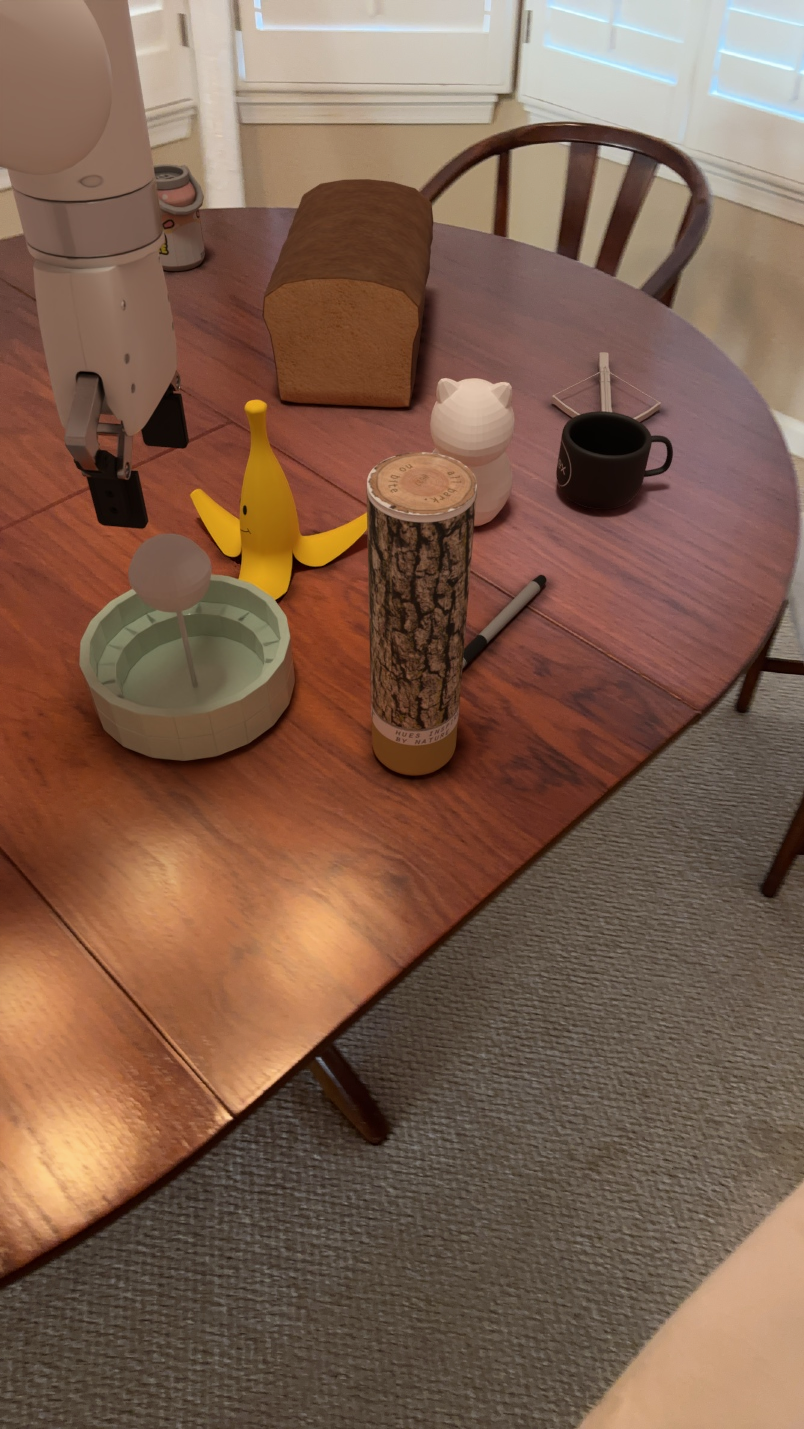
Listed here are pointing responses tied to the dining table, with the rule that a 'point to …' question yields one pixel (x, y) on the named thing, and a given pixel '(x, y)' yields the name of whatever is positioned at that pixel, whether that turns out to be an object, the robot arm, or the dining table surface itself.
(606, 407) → the crossbow
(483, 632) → the pen
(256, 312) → the dining table surface
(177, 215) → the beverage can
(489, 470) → the cat figurine
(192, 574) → the lollipop
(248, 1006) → the dining table surface
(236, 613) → the bowl
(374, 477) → the paper tube
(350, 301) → the bread
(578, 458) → the mug
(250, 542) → the banana peel
